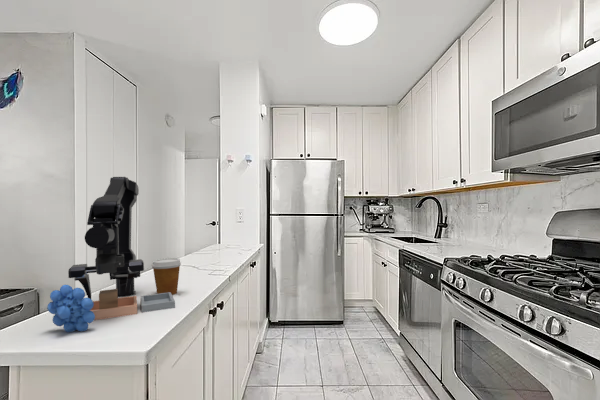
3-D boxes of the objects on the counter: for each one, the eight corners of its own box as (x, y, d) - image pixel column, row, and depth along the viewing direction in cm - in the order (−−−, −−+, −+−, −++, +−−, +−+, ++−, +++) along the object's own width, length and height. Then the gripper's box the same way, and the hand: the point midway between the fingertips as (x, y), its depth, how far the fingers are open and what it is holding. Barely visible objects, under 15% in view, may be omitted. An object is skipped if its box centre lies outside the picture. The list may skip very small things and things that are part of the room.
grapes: (35, 340, 83) (33, 289, 83) (55, 329, 90) (54, 282, 90) (83, 339, 83) (82, 288, 83) (100, 329, 90) (99, 281, 90)
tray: (140, 303, 112) (140, 295, 112) (170, 299, 116) (170, 292, 116) (141, 314, 101) (141, 305, 101) (175, 309, 105) (174, 301, 105)
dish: (81, 312, 104) (81, 302, 104) (136, 305, 110) (136, 295, 110) (76, 324, 93) (76, 313, 93) (137, 315, 100) (137, 305, 100)
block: (100, 311, 103) (100, 290, 103) (118, 308, 105) (117, 288, 105) (99, 315, 99) (98, 294, 99) (117, 313, 101) (117, 292, 101)
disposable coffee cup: (172, 299, 116) (171, 262, 116) (146, 298, 118) (145, 262, 118) (187, 291, 125) (186, 258, 125) (162, 291, 127) (162, 257, 127)
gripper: (64, 249, 90) (65, 310, 90) (143, 244, 99) (145, 300, 99) (71, 245, 100) (72, 300, 100) (142, 240, 109) (143, 291, 109)
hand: (108, 298), depth 102 cm, fingers open, 9 cm apart
